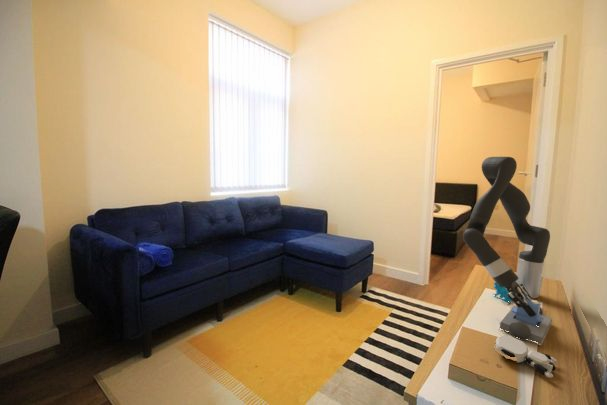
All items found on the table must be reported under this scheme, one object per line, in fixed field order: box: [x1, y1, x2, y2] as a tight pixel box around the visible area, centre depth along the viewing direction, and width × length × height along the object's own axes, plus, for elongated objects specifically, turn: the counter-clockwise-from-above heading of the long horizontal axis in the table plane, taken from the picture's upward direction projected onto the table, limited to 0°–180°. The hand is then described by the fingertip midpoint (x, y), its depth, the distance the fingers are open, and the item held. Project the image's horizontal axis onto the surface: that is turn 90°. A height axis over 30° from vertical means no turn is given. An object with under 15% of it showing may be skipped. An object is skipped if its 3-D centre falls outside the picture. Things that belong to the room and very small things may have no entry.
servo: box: [512, 299, 544, 326], centre depth 106 cm, size 9×4×9 cm, turn 41°
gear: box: [492, 281, 512, 303], centre depth 130 cm, size 11×6×10 cm
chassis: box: [499, 304, 553, 346], centre depth 106 cm, size 12×23×6 cm, turn 131°
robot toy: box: [493, 331, 558, 378], centre depth 88 cm, size 12×4×15 cm
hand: (534, 313), depth 104 cm, fingers closed on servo, 4 cm apart
